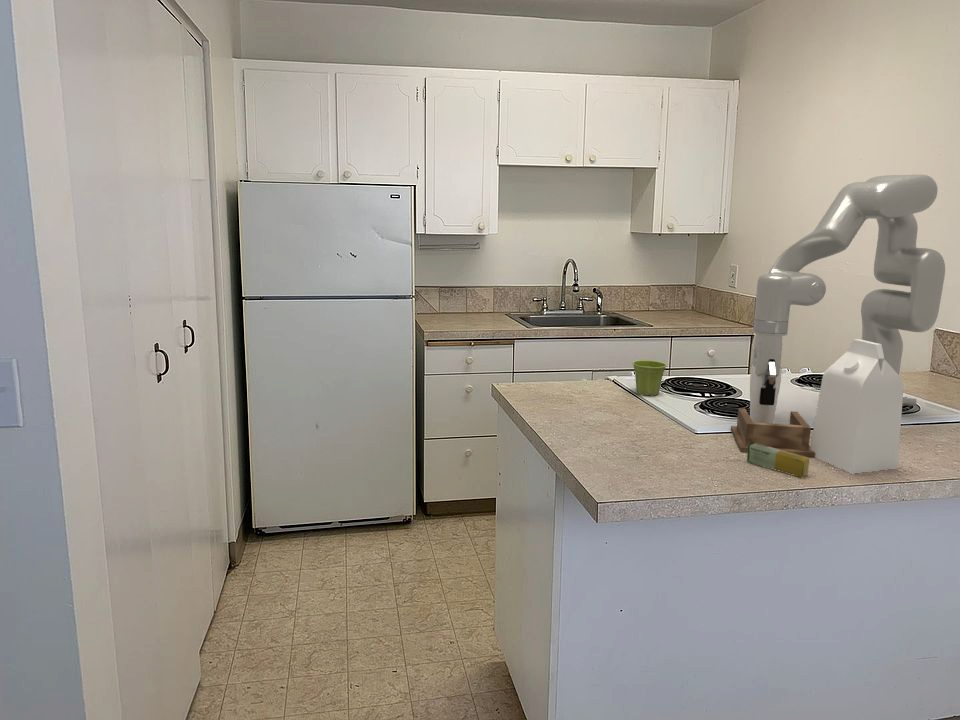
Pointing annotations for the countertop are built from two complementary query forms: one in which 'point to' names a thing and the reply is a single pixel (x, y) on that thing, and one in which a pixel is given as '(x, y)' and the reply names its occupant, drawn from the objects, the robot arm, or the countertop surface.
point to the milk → (859, 411)
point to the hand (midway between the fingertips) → (763, 399)
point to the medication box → (778, 459)
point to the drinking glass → (756, 409)
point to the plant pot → (648, 376)
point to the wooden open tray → (773, 434)
